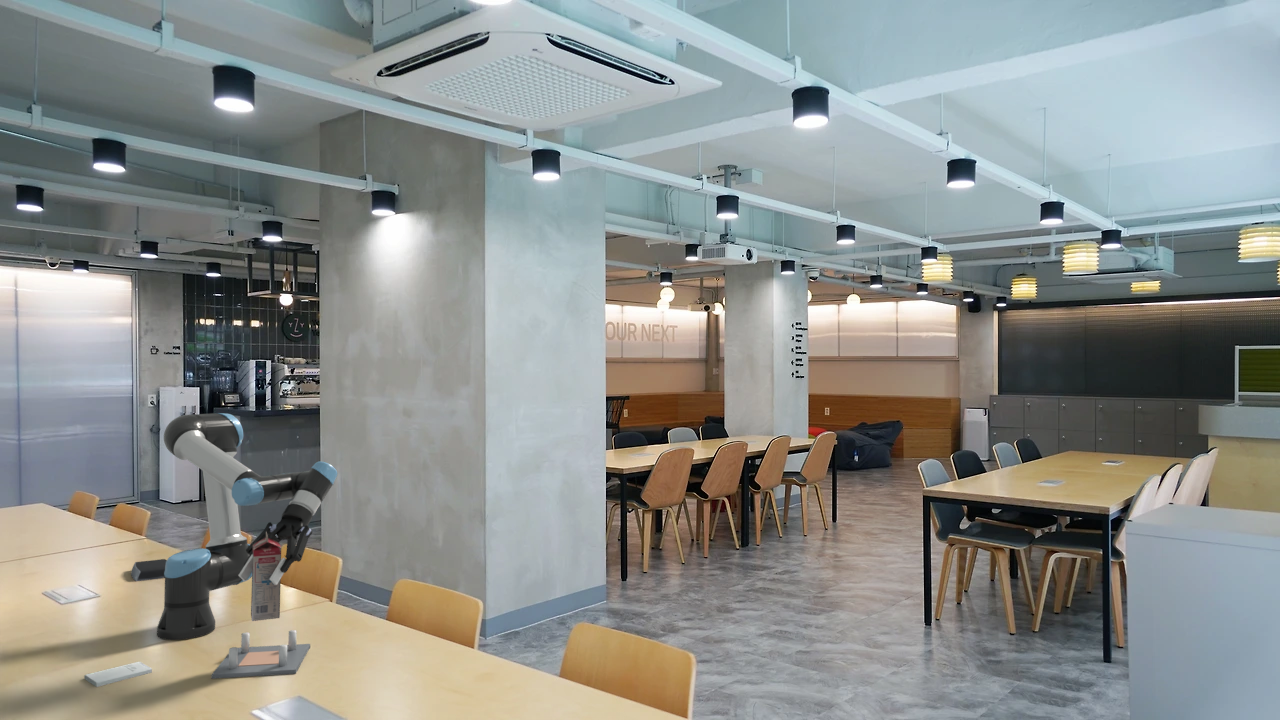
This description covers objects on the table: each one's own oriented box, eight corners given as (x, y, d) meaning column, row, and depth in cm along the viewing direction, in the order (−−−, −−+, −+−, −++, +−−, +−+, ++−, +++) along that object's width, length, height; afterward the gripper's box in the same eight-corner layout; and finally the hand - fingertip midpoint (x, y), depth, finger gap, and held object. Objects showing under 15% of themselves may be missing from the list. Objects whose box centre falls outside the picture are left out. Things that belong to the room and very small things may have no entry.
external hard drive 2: (84, 680, 202) (138, 666, 212) (96, 689, 197) (152, 674, 207) (84, 674, 202) (139, 660, 212) (96, 682, 197) (152, 667, 207)
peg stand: (211, 678, 203) (211, 654, 203) (233, 651, 222) (233, 629, 223) (295, 673, 207) (296, 650, 207) (310, 647, 227) (310, 625, 227)
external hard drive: (133, 583, 292) (133, 571, 292) (129, 571, 308) (129, 561, 308) (174, 578, 300) (175, 567, 300) (169, 567, 315) (169, 556, 316)
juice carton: (251, 621, 211) (254, 537, 211) (251, 614, 217) (253, 532, 217) (279, 618, 214) (281, 535, 214) (277, 611, 220) (279, 530, 220)
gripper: (339, 521, 227) (298, 591, 212) (275, 515, 233) (231, 583, 218) (327, 505, 222) (284, 576, 207) (262, 499, 228) (216, 568, 213)
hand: (257, 580), depth 212 cm, fingers closed on juice carton, 9 cm apart
